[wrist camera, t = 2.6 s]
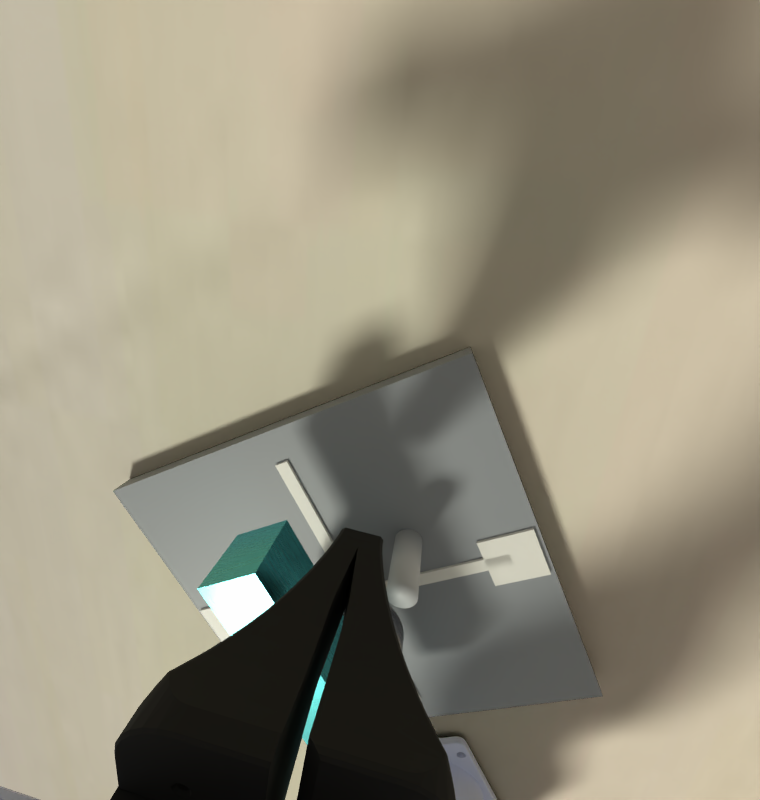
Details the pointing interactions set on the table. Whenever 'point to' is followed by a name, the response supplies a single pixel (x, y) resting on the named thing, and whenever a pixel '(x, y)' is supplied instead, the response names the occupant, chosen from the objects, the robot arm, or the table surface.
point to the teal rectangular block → (265, 586)
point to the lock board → (394, 529)
